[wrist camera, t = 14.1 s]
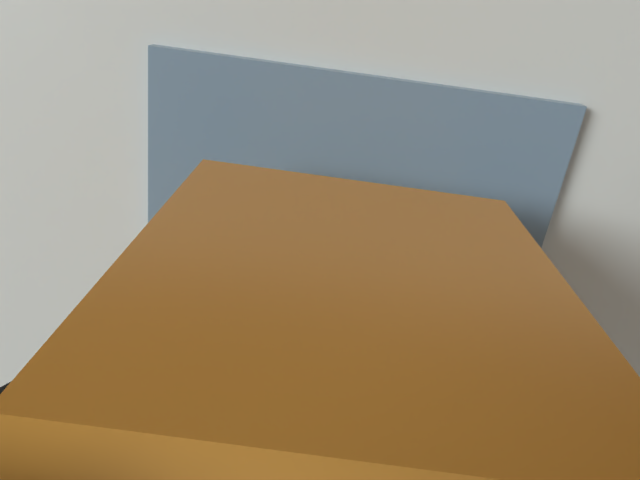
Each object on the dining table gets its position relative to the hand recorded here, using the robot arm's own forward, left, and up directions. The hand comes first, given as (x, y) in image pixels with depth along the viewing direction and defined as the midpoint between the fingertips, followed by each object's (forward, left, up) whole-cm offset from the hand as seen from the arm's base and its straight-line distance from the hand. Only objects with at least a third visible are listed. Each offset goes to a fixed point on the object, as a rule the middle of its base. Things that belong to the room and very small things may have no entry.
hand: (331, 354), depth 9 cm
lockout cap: (0, 0, -1) cm, 1 cm away
